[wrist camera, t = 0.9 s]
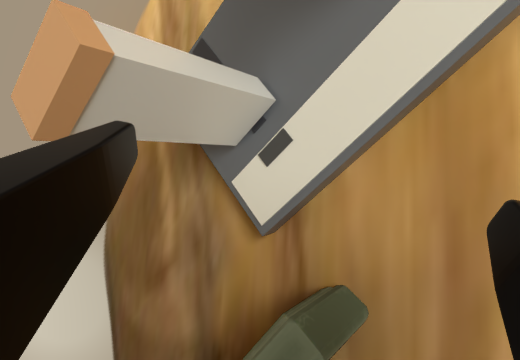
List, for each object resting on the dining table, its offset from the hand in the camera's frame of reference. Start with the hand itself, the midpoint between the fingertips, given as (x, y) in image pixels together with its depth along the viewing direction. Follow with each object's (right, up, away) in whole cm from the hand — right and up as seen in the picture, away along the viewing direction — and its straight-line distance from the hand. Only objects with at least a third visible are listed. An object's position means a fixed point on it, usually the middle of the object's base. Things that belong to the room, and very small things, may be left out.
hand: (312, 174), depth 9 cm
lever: (-2, +4, +14) cm, 15 cm away
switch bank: (+2, +9, +13) cm, 16 cm away
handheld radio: (-2, -16, +18) cm, 24 cm away
